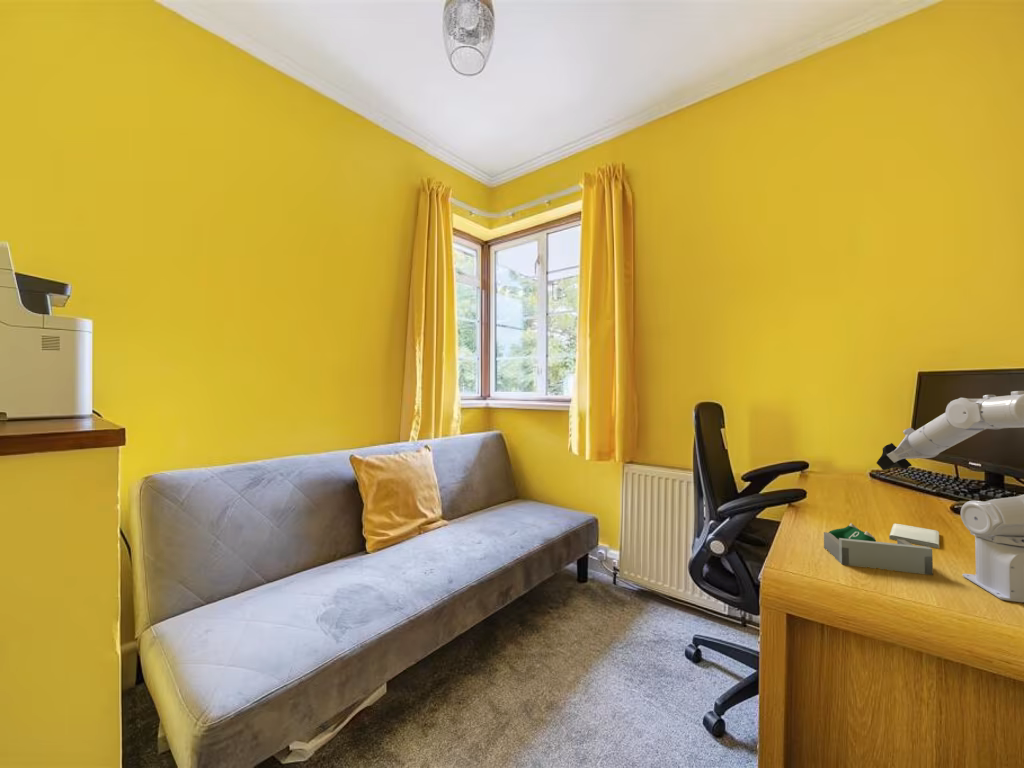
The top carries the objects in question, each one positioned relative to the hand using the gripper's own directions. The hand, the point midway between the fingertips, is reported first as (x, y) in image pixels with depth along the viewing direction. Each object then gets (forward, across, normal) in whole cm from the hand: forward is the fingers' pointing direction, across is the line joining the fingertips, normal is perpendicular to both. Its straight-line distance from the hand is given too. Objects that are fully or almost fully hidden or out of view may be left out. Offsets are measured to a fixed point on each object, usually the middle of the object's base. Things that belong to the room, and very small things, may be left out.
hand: (894, 460), depth 95 cm
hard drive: (+13, 0, +16) cm, 21 cm away
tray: (0, +22, +16) cm, 27 cm away
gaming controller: (+7, +19, +12) cm, 23 cm away
